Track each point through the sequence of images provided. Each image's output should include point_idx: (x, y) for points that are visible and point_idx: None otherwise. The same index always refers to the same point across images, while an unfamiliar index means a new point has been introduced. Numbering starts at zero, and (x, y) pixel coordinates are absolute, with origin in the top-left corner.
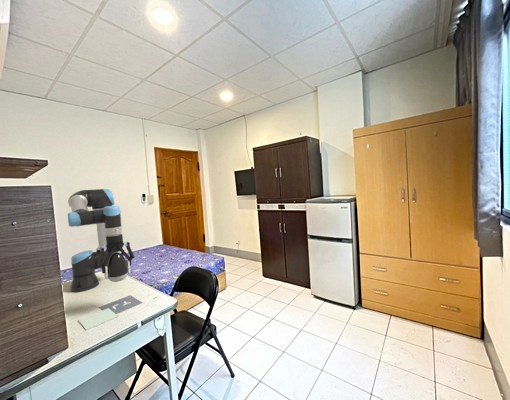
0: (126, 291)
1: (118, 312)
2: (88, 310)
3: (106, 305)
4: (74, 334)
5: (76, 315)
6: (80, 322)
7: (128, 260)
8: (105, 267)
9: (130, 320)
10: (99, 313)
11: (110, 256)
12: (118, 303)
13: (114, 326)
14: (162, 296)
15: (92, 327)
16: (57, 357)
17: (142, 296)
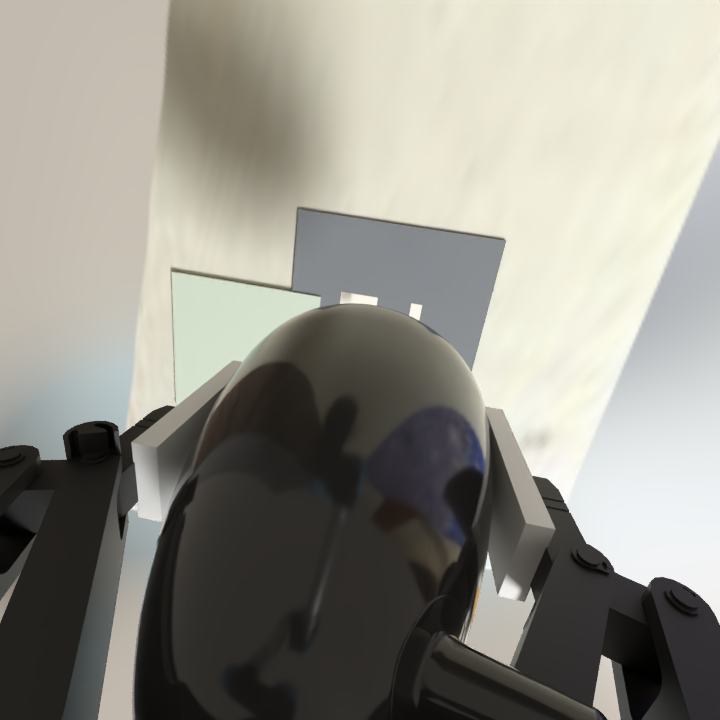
0: (553, 117)
1: None
2: (246, 181)
3: (334, 236)
4: (138, 387)
5: (182, 179)
6: (173, 313)
7: (534, 576)
8: (139, 513)
9: None
10: (264, 311)
11: (135, 661)
12: (386, 290)
13: None
14: (563, 468)
15: None
16: None
17: (523, 346)
